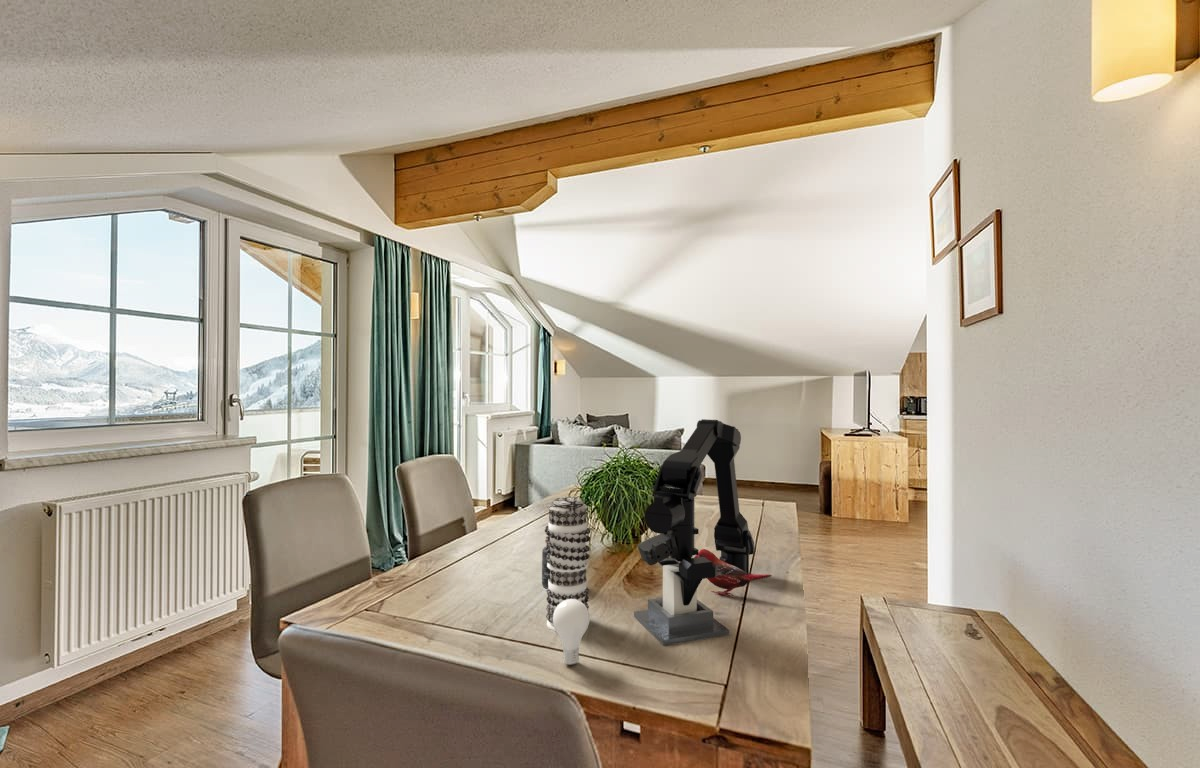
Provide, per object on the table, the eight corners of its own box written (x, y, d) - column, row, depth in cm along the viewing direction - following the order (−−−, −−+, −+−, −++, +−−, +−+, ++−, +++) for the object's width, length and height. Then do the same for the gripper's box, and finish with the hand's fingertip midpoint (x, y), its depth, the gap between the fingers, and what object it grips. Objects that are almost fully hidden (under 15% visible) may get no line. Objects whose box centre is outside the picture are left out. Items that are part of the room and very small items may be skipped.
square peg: (684, 606, 115) (684, 563, 115) (696, 616, 110) (696, 570, 110) (662, 609, 113) (662, 565, 113) (673, 619, 109) (674, 573, 109)
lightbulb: (552, 655, 99) (552, 593, 99) (588, 654, 99) (588, 592, 100) (552, 674, 93) (552, 607, 93) (590, 672, 93) (590, 606, 93)
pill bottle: (563, 590, 131) (563, 542, 131) (538, 588, 132) (538, 540, 132) (569, 582, 137) (569, 535, 137) (546, 580, 138) (546, 534, 138)
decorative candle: (573, 637, 106) (574, 506, 106) (535, 626, 111) (535, 500, 111) (599, 620, 114) (599, 498, 114) (562, 611, 119) (562, 493, 119)
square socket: (693, 607, 121) (693, 589, 121) (729, 634, 108) (729, 614, 108) (633, 616, 116) (633, 597, 116) (663, 645, 103) (663, 624, 103)
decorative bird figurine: (695, 588, 133) (695, 546, 133) (773, 601, 125) (773, 556, 125) (692, 592, 130) (692, 549, 130) (770, 605, 122) (770, 559, 122)
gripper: (625, 515, 118) (625, 589, 118) (664, 537, 101) (663, 624, 100) (672, 511, 122) (672, 583, 122) (718, 532, 104) (718, 616, 104)
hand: (679, 600), depth 112 cm, fingers closed on square peg, 5 cm apart
